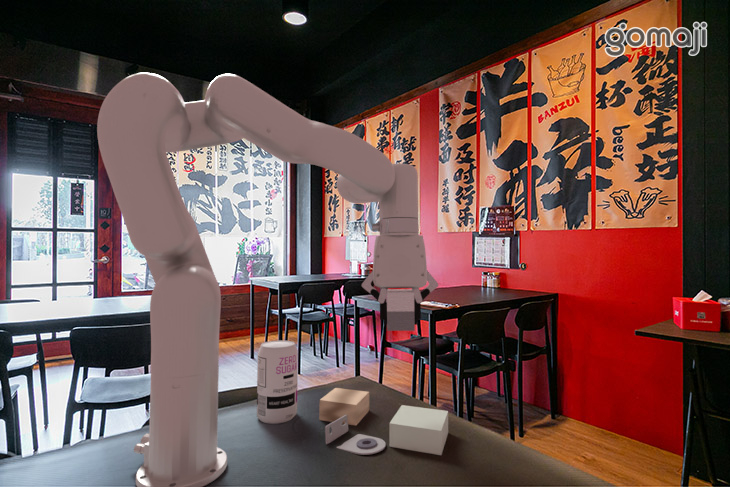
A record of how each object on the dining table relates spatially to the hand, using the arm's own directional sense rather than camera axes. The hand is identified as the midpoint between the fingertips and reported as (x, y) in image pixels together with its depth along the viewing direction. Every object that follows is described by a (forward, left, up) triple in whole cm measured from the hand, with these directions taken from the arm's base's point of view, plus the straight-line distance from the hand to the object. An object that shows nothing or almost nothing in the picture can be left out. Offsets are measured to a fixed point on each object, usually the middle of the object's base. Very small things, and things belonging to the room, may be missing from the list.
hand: (400, 322), depth 74 cm
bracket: (-6, -7, -21) cm, 23 cm away
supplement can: (-26, -2, -21) cm, 33 cm away
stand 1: (-13, +4, -21) cm, 25 cm away
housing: (0, 0, -1) cm, 1 cm away
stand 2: (+4, -2, -21) cm, 21 cm away
